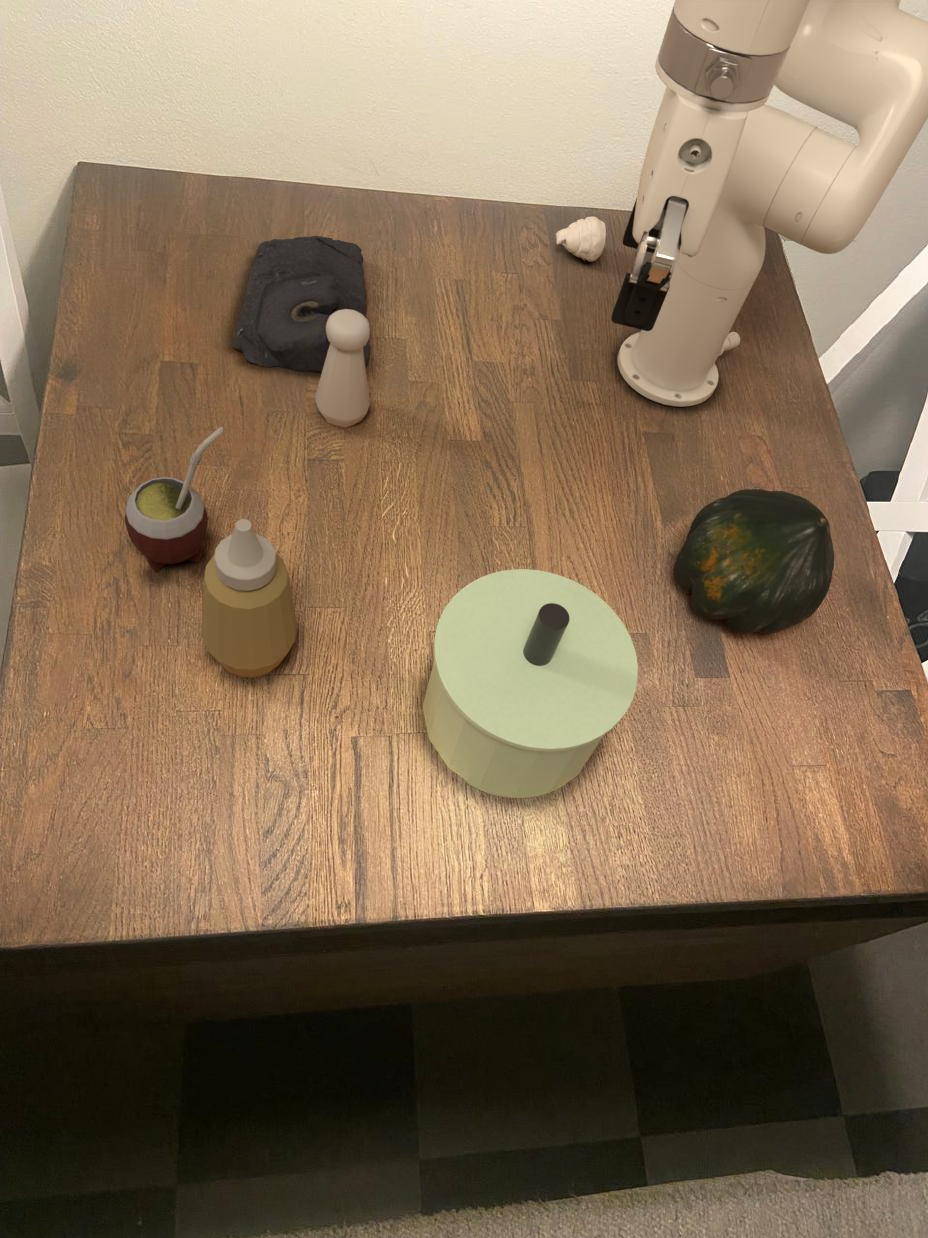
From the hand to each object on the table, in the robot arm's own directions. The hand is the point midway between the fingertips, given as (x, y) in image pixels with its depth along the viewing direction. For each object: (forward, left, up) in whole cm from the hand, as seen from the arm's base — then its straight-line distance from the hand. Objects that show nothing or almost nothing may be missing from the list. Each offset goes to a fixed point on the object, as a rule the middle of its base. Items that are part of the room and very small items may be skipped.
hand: (636, 284), depth 71 cm
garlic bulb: (-31, -36, -30) cm, 56 cm away
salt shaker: (+12, -23, -30) cm, 39 cm away
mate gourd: (+35, -14, -30) cm, 48 cm away
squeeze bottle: (+34, -1, -30) cm, 45 cm away
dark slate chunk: (+6, -40, -30) cm, 50 cm away
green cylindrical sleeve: (+17, +16, -30) cm, 38 cm away
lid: (+17, +16, -19) cm, 30 cm away
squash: (-12, +16, -30) cm, 36 cm away
